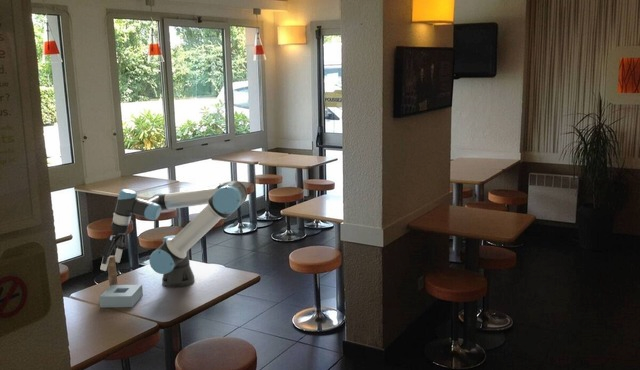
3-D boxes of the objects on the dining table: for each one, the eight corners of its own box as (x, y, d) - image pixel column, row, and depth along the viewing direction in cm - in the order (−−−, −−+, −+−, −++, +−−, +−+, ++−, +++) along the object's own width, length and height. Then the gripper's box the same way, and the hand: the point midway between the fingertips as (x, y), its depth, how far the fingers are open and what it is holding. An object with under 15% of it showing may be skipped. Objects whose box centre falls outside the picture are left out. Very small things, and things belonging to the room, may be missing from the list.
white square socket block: (142, 294, 263) (141, 284, 262) (132, 307, 249) (131, 296, 248) (112, 295, 263) (111, 284, 262) (100, 307, 249) (99, 296, 248)
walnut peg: (119, 290, 269) (116, 255, 266) (116, 293, 266) (113, 257, 262) (111, 290, 269) (108, 255, 266) (108, 293, 266) (105, 258, 262)
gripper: (124, 214, 273) (114, 256, 277) (100, 226, 249) (89, 271, 252) (139, 219, 273) (129, 260, 276) (116, 231, 248) (105, 276, 252)
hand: (110, 265), depth 264 cm, fingers open, 13 cm apart
